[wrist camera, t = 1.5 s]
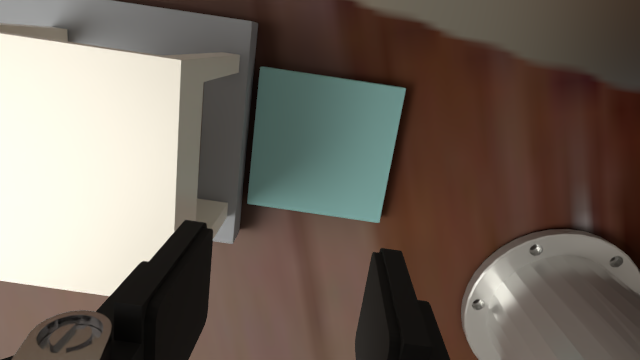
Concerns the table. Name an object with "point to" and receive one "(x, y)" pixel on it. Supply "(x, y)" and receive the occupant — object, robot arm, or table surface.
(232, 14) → the table surface
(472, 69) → the table surface
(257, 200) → the teal mat
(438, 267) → the table surface
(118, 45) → the puzzle board
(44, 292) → the table surface
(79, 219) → the sliding cover
